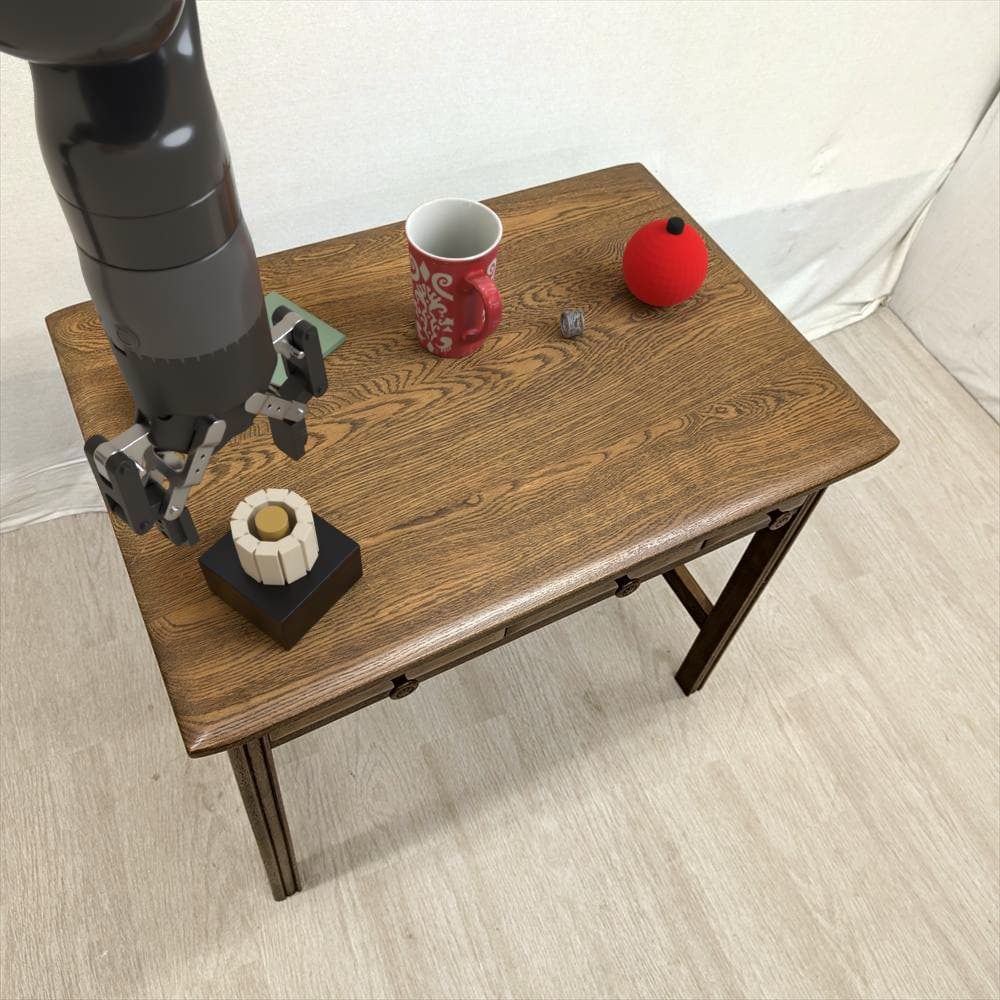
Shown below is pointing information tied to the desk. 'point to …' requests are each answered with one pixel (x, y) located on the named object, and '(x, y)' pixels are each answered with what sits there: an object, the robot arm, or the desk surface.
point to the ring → (283, 555)
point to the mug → (454, 274)
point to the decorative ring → (572, 318)
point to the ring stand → (292, 604)
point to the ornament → (665, 262)
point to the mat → (326, 333)
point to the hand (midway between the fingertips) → (239, 492)
